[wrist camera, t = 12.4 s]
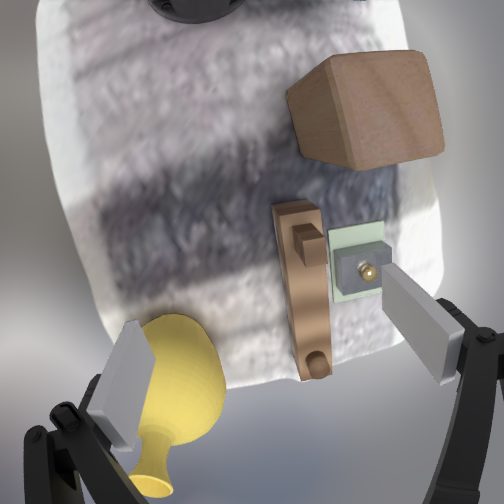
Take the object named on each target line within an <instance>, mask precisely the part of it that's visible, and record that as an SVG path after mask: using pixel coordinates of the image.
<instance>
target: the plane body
mask: <svg viewBox="0 0 504 504" xmlns="http://www.w3.org/2000/svg"><path fill="white" fill-rule="evenodd" d="M271 208H272V214H273V220H274V227H275V233H276V240H277V247H278V253H279V260H280V267H281V274H282V280H283V287H284V294H285V302H286V309H287V316H288V323H289V331H290V338H291V346H292V353H293V358H294V359H295V362H296V366H297V369H298V372H299V376H300V379H301V381H306V380H310V379H322V378H324V377H326V376H327V375H331V374H332V351H331V331H330V314H329V299H328V285H327V273H326V264H328V263H327V252H326V241H325V237H324V235H323V231H322V221H321V213H320V209H319V208H318V207H317V206H315V205H314V204H313V203H311V202H310V201H309V200H308V199H303V200H297V201H291V202H285V203H279V204H273V205H271Z"/></svg>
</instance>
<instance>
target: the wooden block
mask: <svg viewBox="0 0 504 504" xmlns="http://www.w3.org/2000/svg"><path fill="white" fill-rule="evenodd" d="M286 98H287V101H288V105H289V109H290V112H291V116H292V120H293V124H294V128H295V132H296V136H297V140H298V144H299V148H300V152H301V154H302V155H303V157H304V158H308V159H313V160H317V161H321V162H325V163H329V164H333V165H337V166H341V167H345V168H349V169H353V170H358V171H365V170H369V169H374V168H378V167H383V166H388V165H392V164H397V163H402V162H407V161H412V160H417V159H422V158H427V157H432V156H437V155H438V154H440V153H441V152H443V151H444V147H445V142H444V136H443V130H442V125H441V119H440V114H439V110H438V104H437V100H436V95H435V91H434V87H433V83H432V79H431V74H430V71H429V67H428V64H427V60H426V58H425V56H424V54H423V53H421V52H419V51H415V50H389V51H371V52H358V53H347V54H337V55H332V56H331V57H329V58H327V59H326V60H324V61H323V62H322V63H320V64H319V65H318V66H317V67H315V68H314V69H313V70H312V71H310V72H309V73H308V74H307V75H305V76H304V77H303V78H302V79H300V80H299V81H298V82H297V83H296V84H294V85H293V86H292V87H291V88H290V89H288V90H287V93H286Z"/></svg>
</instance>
